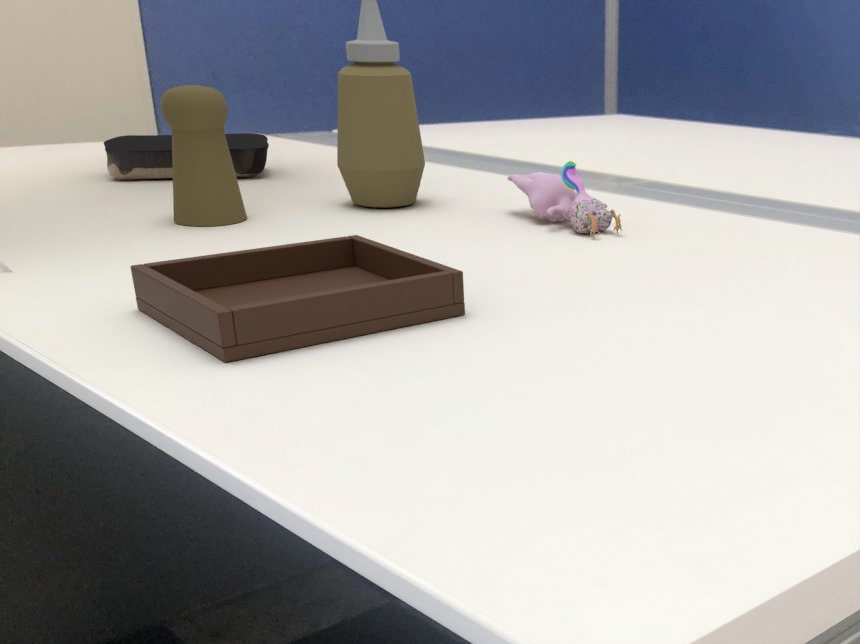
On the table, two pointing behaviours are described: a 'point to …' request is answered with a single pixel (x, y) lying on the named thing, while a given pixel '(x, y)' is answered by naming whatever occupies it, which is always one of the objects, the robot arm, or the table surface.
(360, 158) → the squeeze bottle
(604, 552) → the table surface
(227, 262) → the tray
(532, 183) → the pink figurine
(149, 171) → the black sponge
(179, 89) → the cork
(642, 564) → the table surface
